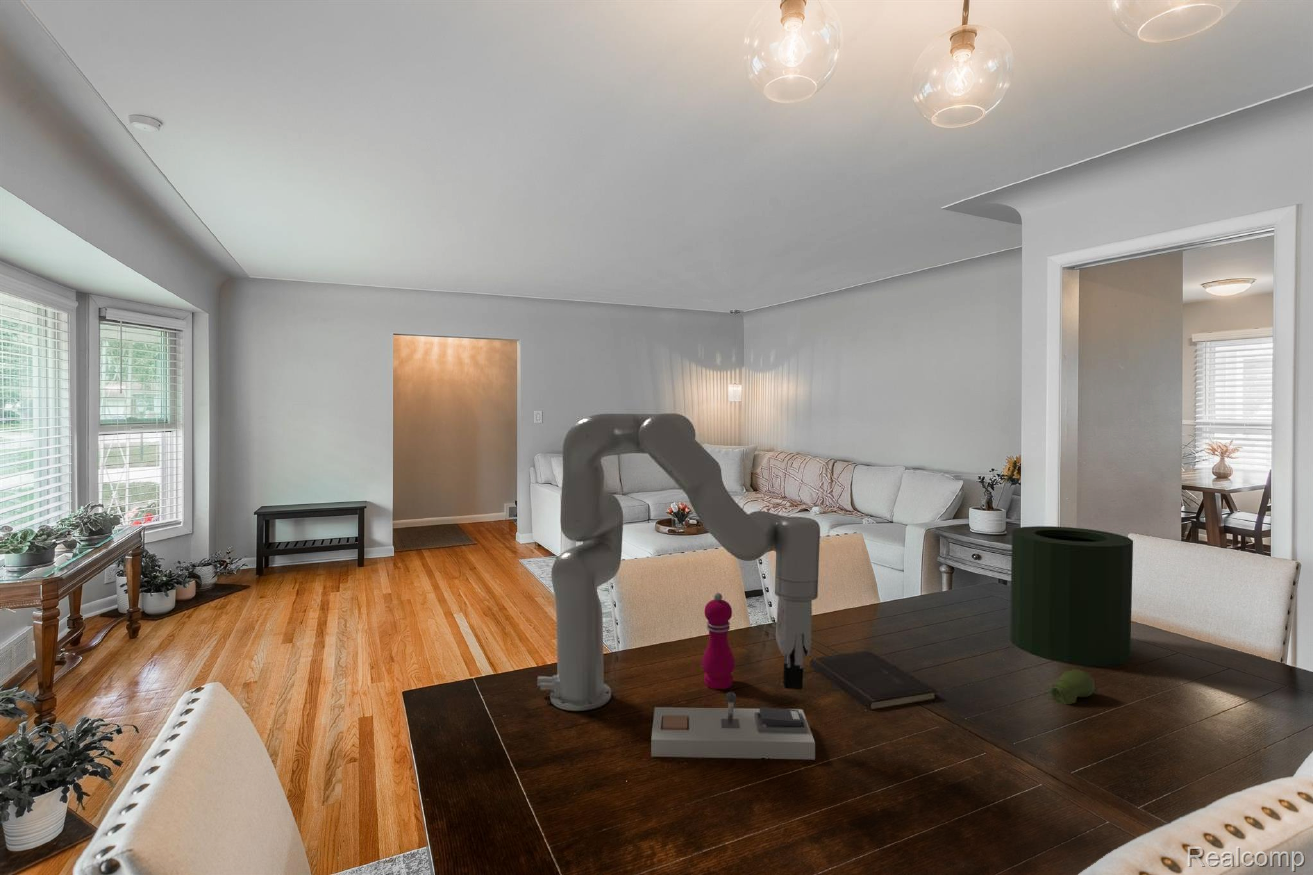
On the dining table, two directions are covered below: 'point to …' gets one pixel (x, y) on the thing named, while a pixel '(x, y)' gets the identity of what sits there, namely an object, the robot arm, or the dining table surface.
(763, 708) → the panel
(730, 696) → the toggle lever
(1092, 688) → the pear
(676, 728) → the push button
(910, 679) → the hardcover book
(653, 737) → the control panel
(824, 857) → the dining table surface
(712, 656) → the pepper mill
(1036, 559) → the flower pot
